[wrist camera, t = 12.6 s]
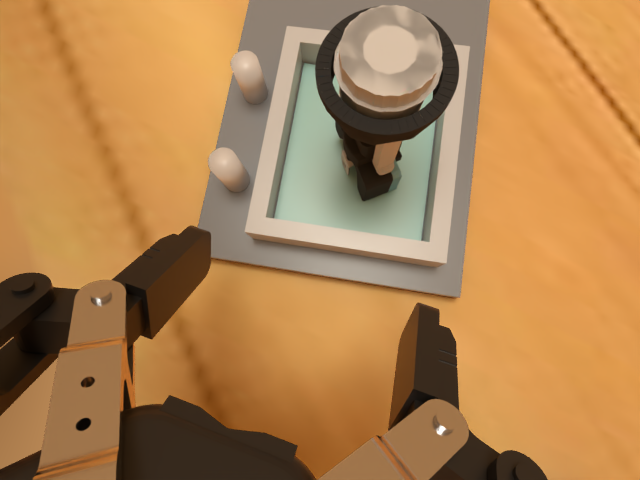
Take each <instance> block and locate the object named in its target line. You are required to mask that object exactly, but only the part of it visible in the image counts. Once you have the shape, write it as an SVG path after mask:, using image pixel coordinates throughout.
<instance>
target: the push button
mask: <svg viewBox="0 0 640 480" xmlns="http://www.w3.org/2000/svg"><path fill="white" fill-rule="evenodd" d="M335 75H336V78H337V81H338V83H339V95H338V93H337V92H336V90H335V88H334V85H333V79H334V76H335ZM315 77H316V86H317V90H318V94H319V96H320V99H321V101H322V103H323V105H324V106H325V109H326V111H327V112H328V113H329V114H330V115H331V117H332V118H333V119H334V120H335V127H336V131H337V133H338V136H339V138H340V139H343V147H344V150H342V153H341V160H342V164H343V166H344V169H345V171H346V173H347V175H349V170H350V169H349V168H350V167H352V166H355V169H356V172H357V188H358V191H359V194H360V196H361V199H362V200H363V201H366V200H369V199H371V198H374V197H377V196H379V195H382V194H385V193H387V192H390V191H392V190H395V189H397V186H398V184H399V182H400V180H401V177H402V175H401V171H400V168H399V166H398V164H397V161H400V160H401V158H402V154H401V152H400V147H401V144H402V141H404V140H410V139H413V138H414V137H415V136H417V135H418V134H419V133H421V132H422V131H423V130H424V129H426V128H427V127H428V126H429V125H431V124H432V123H433V122H434V121H436V120H437V119H438V118H439V117H440V116H441V115H442V113H443V112H444V111H445V109H446V108H447V106H448V105H449V103H450V101H451V99H452V97H453V95H454V93H455V91H456V88H457V84H458V80H459V61H458V56H457V52H456V50H455V47H454V45H453V43H452V41H451V39H450V38H449V36H448V35H447V33H446V32H445V31H444V30H443V29H442V28H441V27H440V26H439V25H438V24H437V23H436V22H434V21H433V20H432V19H430V18H429V17H427V16H425V15H423V14H421V13H419V12H417V11H414V10H411V9H409V8H407V7H405V6H398V5H392V6H386V5H381V6H377V7H371V8H367V9H363V10H360V11H358V12H355V13H353V14H351V15H349V16H347V17H346V18H344V19H343V20H341V21H340V22H339V23H338V24H336V25H335V26H334V27H333V28H332V29H331V30H330V32H329V33H328V34H327V35H326V37H325V39H324V40H323V42H322V44H321V46H320V48H319V51H318V54H317V58H316V64H315ZM432 91H433V98H432V100H431V101H430V102H429V103H428V104H427V105H426V106H425V107H424V108H422V109H421V110H420V108H421V106H422V104H423V101H424V100H425V99H426V97H427V96H428V95H429V94H430V93H431V92H432Z"/></svg>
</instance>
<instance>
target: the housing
mask: <svg viewBox="0 0 640 480" xmlns="http://www.w3.org/2000/svg"><path fill="white" fill-rule="evenodd" d="M489 4H490V0H250V1H249V5H248V9H247V14H246V18H245V22H244V27H243V31H242V36H241V40H240V44H239V49H238V53H236V54H235V55H234V56H233V57H232V59H231V68H232V71H233V75H232V79H231V84H230V88H229V93H228V97H227V101H226V106H225V110H224V115H223V119H222V123H221V128H220V132H219V136H218V141H217V145H216V150H214V151H213V152H212V153H211V154H210V156H209V158H208V166H209V168H210V170H211V172H210V176H209V180H208V185H207V189H206V193H205V198H204V202H203V207H202V211H201V215H200V220H199V224H198V228H200V229H203V230H206V231H209V232H210V233H211V258H213V259H219V260H225V261H231V262H237V263H243V264H250V265H256V266H262V267H268V268H274V269H280V270H286V271H292V272H299V273H305V274H311V275H317V276H323V277H329V278H335V279H342V280H348V281H354V282H360V283H366V284H372V285H378V286H384V287H391V288H397V289H403V290H409V291H415V292H421V293H427V294H433V295H440V296H446V297H452V298H460V293H461V283H462V273H463V263H464V253H465V244H466V234H467V224H468V214H469V204H470V194H471V184H472V174H473V164H474V154H475V144H476V134H477V124H478V114H479V104H480V94H481V84H482V74H483V64H484V54H485V44H486V34H487V24H488V14H489ZM381 5H386V6H392V5H398V6H405V7H407V8H409V9H411V10H414V11H417V12H419V13H421V14H423V15H425V16H427V17H429V18H430V19H432V20H433V21H434V22H436V23H437V24H438V25H439V26H440V27H441V28H442V29H443V30H444V31H445V32H446V33H447V35H448V36H449V38H450V39H451V41H452V43H453V45H454V47H455V50H456V52H457V56H458V61H459V80H458V84H457V88H456V91H455V93H454V95H453V97H452V99H451V101H450V103H449V105H448V106H447V108H446V109H445V111H444V112H443V113H442V115H441V116H440V117H439V118H438V119H437V120H436V121H434V122H433V123H432V124H431V125H429V126H428V127H427V128H426V129H424V130H423V131H422V132H421V133H419V134H418V135H417V136H415V137H414V138H413V139H410V140H404V141H402V144H401V147H400V152H401V154H402V158H401V160H400V161H397V164H398V166H399V168H400V171H401V175H402V177H401V180H400V182H399V184H398V186H397V189H395V190H392V191H390V192H387V193H385V194H382V195H379V196H377V197H374V198H371V199H369V200H366V201H363V200H362V199H361V196H360V194H359V191H358V188H357V172H356V169H355V166H352V167H350V168H349V169H350V170H349V175H347V173H346V171H345V169H344V166H343V164H342V160H341V153H342V150H344V147H343V139H340V138H339V136H338V133H337V131H336V127H335V120H334V119H333V118H332V117H331V115H330V114H329V113H328V112H327V111H326V109H325V106H324V105H323V103H322V101H321V99H320V96H319V94H318V90H317V86H316V77H315V64H316V58H317V54H318V51H319V48H320V46H321V44H322V42H323V40H324V39H325V37H326V35H327V34H328V33H329V32H330V30H331V29H332V28H333V27H334V26H335V25H336V24H338V23H339V22H340V21H341V20H343V19H344V18H346V17H347V16H349V15H351V14H353V13H355V12H358V11H360V10H363V9H367V8H371V7H377V6H381ZM333 85H334V88H335V90H336V92H337V93H338V95H339V83H338V81H337V78H336V75H335V76H334V79H333ZM432 98H433V91H432V92H431V93H430V94H429V95H428V96H427V97H426V99H425V100H424V101H423V104H422V106H421V108H420V110H421V109H422V108H424V107H425V106H426V105H427V104H428V103H429V102H430V101H431V100H432Z"/></svg>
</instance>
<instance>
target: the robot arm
mask: <svg viewBox="0 0 640 480" xmlns="http://www.w3.org/2000/svg"><path fill="white" fill-rule="evenodd" d="M210 264H211V233H210V232H209V231H206V230H203V229H200V228H197V227H194V226H189V227H187V228H186V229H185V230H184V231H183V232H182V233H181V234H179V235H176V234H171V235H169V236H167V237H164V238H162V239H160V240H158V241H157V242H156V243H155V244H154V245H153V246H151V247H150V249H148V250H147V251H145V252H144V253H143V255H142V256H139V257H138V258H137V259H136V260H135V261H134V262H132V263H131V264H130V265H129V266H128V267H126V268H125V269H124V270H123V271H122V272H121V273H119V274H118V275H117V276H116V277H115V278H113V279H112V280H99V281H95V282H92V283H89V284H87V285H85V286H84V287H82V288H81V289H67V288H55V287H53V286H52V283H51V281H50V279H49V278H48V277H47V276H46V275H43V274H40V273H24V274H19V275H15V276H13V277H10V278H8V279H6V280H5V281H3V282H1V283H0V347H1V346H3V345H4V344H5V343H6V342H7V341H8V340H10V339H11V338H12V337H14V338H13V339H12V340H11V341H10V342H8V343H7V344H6V345H5V346H4V347H3V348H1V349H0V416H1V415H2V414H3V413H4V412H5V410H6V409H7V408H9V407H10V405H11V404H12V403H13V402H14V401H15V400H16V399H17V398H18V397H19V396H20V395H21V394H22V393H23V392H24V391H25V390H26V389H27V388H28V387H29V386H30V385H31V384H32V383H33V382H34V381H35V380H36V379H37V378H38V377H39V376H40V375H41V374H42V373H43V372H44V371H45V370H46V369H47V368H48V367H49V366H50V365H51V364H52V362H54V360H56V359H57V358H58V361H57V367H56V372H55V378H54V383H53V390H52V395H51V400H50V406H49V412H48V418H47V423H46V429H45V434H44V440H43V446H42V450H40V451H38V452H36V453H34V454H32V455H30V456H28V457H25V458H23V459H21V460H19V461H18V462H15V463H13V464H11V465H9V466H7V467H5V468H2V469H0V480H316V479H315V477H314V475H313V474H312V473H311V471H310V470H309V469H308V468H307V466H306V465H305V464H304V463H303V462H302V461H300V460H299V459H298V458H297V457H295V453H296V449H297V445H294V444H292V443H289V442H287V441H284V440H282V439H279V438H277V437H274V436H272V435H269V434H267V433H261V432H252V431H243V430H234V429H229V428H226V427H225V426H223V425H222V424H221V423H220V422H218V421H217V420H216V419H215V418H213V417H212V416H211V415H209V414H208V413H207V412H206V411H204V410H203V409H202V408H200V407H198V406H196V405H193V404H191V403H188V402H186V401H183V400H181V399H178V398H176V397H173V396H170V395H169V397H168V398H167V400H166V401H165V402H164V404H163V405H161V404H152V405H143V406H138V407H136V404H135V346H134V342H135V341H136V340H137V339H138V338H139V336H140V335H141V336H144V337H146V338H149V339H153V338H154V336H155V335H156V334H157V333H158V332H159V331H160V329H161V328H162V327H163V326H164V325H165V324H166V322H167V321H168V320H169V319H170V318H171V317H172V315H173V314H174V313H175V312H176V311H177V310H178V308H179V307H180V306H181V305H182V304H183V303H184V301H185V300H186V299H187V298H188V297H189V296H190V294H191V293H192V292H193V291H194V290H195V289H196V287H197V286H198V285H199V284H200V283H201V281H202V280H203V279H204V278H205V277H206V275H207V273H208V271H209V268H210ZM456 355H457V354H456V341H455V339H454V337H453V335H452V333H451V330H450V329H449V328H447V327H444V326H441V325H439V309H436V308H433V307H430V306H427V305H424V304H421V303H417V304H416V306H415V308H414V310H413V312H412V314H411V316H410V318H409V320H408V322H407V324H406V326H405V328H404V330H403V333H402V335H401V338H400V342H399V347H398V355H397V363H396V371H395V380H394V388H393V396H392V404H391V412H390V420H389V428H388V430H389V431H388V432H387V433H385V434H384V435H383V436H381V437H379V436H378V435H377V436H375V437H373V438H371V439H370V440H369V441H367V442H366V443H365V444H363V445H362V446H361V447H359V448H358V449H357V450H356V451H354V452H353V453H352V454H350V455H349V456H348V457H346V458H345V459H344V460H343V461H341V462H340V463H339V464H337V465H336V466H335V467H333V468H332V469H331V470H329V471H328V472H327V473H326V474H324V475H323V476H322V477H320V478H319V479H318V480H547V478H546V476H545V474H544V473H543V471H542V470H541V469H540V467H539V466H538V465H537V464H536V463H535V462H534V461H533V460H531V459H530V458H529V457H527V456H526V455H524V454H522V453H520V452H517V451H512V450H508V451H504V452H503V453H501V454H499V453H498V452H496V451H495V450H494V449H492V448H491V447H489V446H488V445H486V444H485V443H484V442H482V441H481V440H479V439H478V438H477V437H476V436H475V435H474V434H473V433H472V432H471V431H470V430H469V429H468V425H467V422H466V420H465V418H464V417H463V415H462V414H461V413H460V411H459V400H458V377H457V368H456V367H457V357H456Z"/></svg>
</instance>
